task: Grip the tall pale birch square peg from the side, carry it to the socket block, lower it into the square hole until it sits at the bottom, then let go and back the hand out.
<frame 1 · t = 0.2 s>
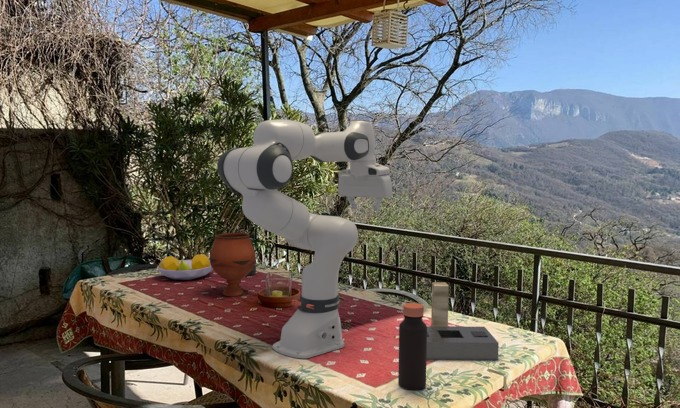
hand: (365, 210, 170), 39 cm above the table, tool pointing down, fingers open, 8 cm apart
jar: (246, 275, 246), on the table
fruit bowl: (185, 277, 240), on the table
birch peg: (439, 332, 163), on the table
goblet: (233, 293, 211), on the table
bottle: (412, 385, 124), on the table
pliers: (335, 296, 209), on the table
socket block: (449, 350, 147), on the table
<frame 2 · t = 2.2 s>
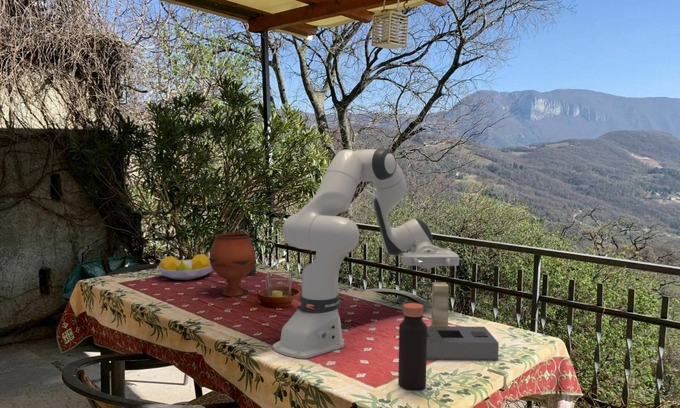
hand: (433, 263, 174), 20 cm above the table, tool horizontal, fingers open, 8 cm apart
nothing on the table moved.
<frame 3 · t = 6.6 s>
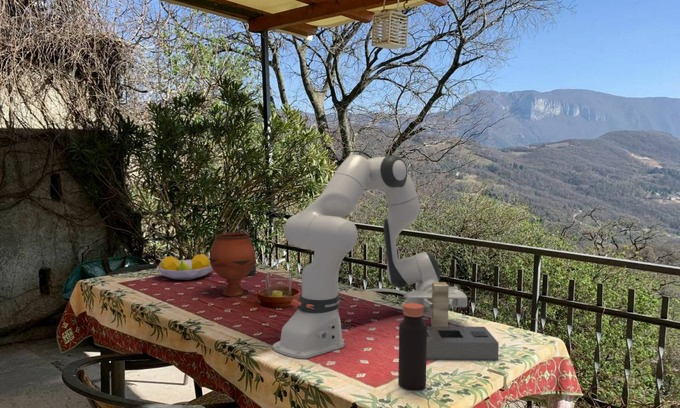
hand: (440, 306, 162), 9 cm above the table, tool horizontal, fingers closed on birch peg, 4 cm apart
birch peg: (439, 332, 163), on the table, touching gripper
everything else where it was.
when the fingers open (10 cm above the table, at t = 13.0 s): birch peg stays where it is, resting on socket block.
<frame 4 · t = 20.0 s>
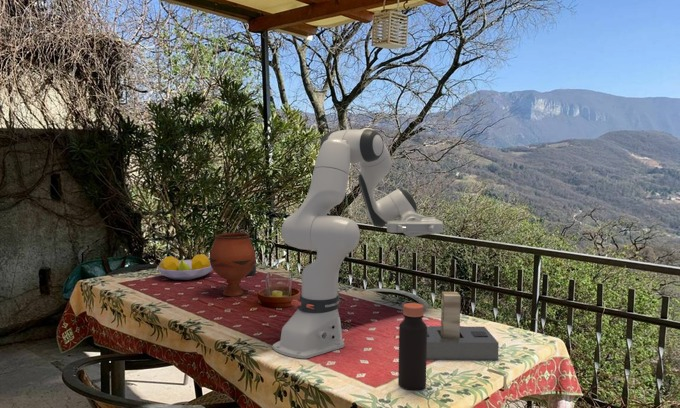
hand: (417, 229, 174), 32 cm above the table, tool horizontal, fingers open, 8 cm apart
birch peg: (449, 347, 147), point 1 cm above the table, touching socket block
everything else where it was.
at the end: birch peg 0.0 cm off-centre on the socket block, point 1.0 cm above the socket block's base; birch peg tilted 0°; the gripper is holding nothing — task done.
